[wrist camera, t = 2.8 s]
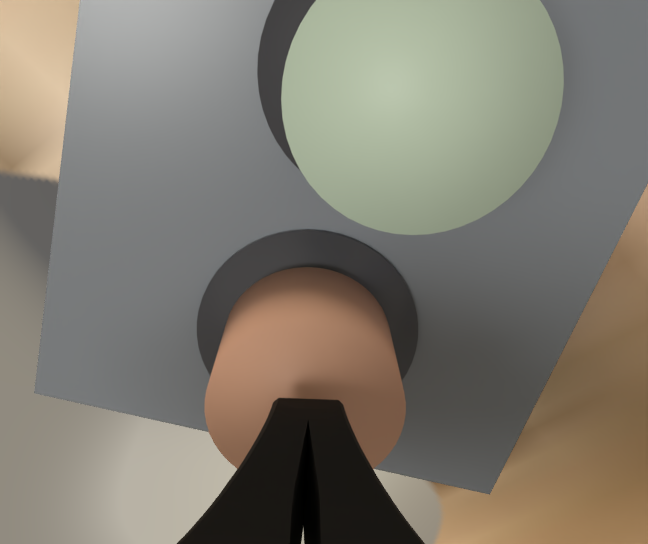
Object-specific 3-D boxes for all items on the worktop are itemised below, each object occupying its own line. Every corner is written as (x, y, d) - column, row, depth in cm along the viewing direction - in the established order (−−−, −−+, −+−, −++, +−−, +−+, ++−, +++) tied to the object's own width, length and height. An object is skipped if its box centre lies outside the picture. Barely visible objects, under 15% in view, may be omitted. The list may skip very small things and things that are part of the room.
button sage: (543, 1, 12) (614, -4, 9) (460, 211, 13) (498, 262, 10) (323, -71, 11) (325, -102, 8) (266, 157, 13) (252, 196, 10)
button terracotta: (413, 291, 15) (434, 352, 12) (361, 427, 17) (370, 507, 14) (245, 248, 15) (228, 300, 12) (208, 392, 16) (186, 468, 14)
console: (869, -375, 12) (977, -452, 10) (474, 451, 21) (491, 499, 18) (198, -670, 11) (171, -830, 9) (61, 356, 19) (31, 397, 17)
